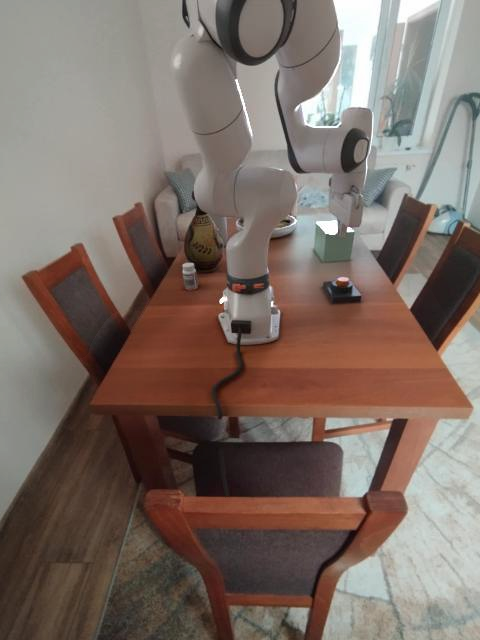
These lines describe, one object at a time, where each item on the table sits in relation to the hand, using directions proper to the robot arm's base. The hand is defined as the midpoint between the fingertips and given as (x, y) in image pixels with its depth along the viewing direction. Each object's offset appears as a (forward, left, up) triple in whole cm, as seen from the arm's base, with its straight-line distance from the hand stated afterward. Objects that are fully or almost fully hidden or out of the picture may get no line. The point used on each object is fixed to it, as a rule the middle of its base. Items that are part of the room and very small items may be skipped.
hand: (340, 235), depth 98 cm
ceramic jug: (+30, +43, -18) cm, 56 cm away
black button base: (-2, -2, -18) cm, 18 cm away
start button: (-2, -2, -15) cm, 15 cm away
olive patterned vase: (+58, +40, -18) cm, 73 cm away
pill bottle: (+12, +48, -18) cm, 53 cm away
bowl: (+73, +14, -18) cm, 76 cm away
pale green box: (+35, -9, -18) cm, 40 cm away
